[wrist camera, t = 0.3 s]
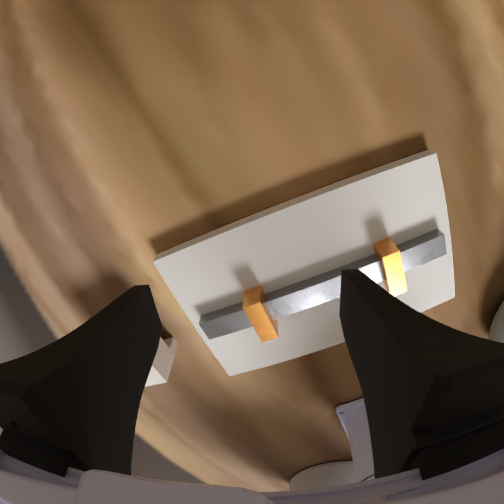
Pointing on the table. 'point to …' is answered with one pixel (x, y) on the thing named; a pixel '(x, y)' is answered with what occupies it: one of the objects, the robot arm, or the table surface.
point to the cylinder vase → (324, 476)
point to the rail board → (311, 257)
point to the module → (162, 362)
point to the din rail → (323, 287)
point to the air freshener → (498, 326)
